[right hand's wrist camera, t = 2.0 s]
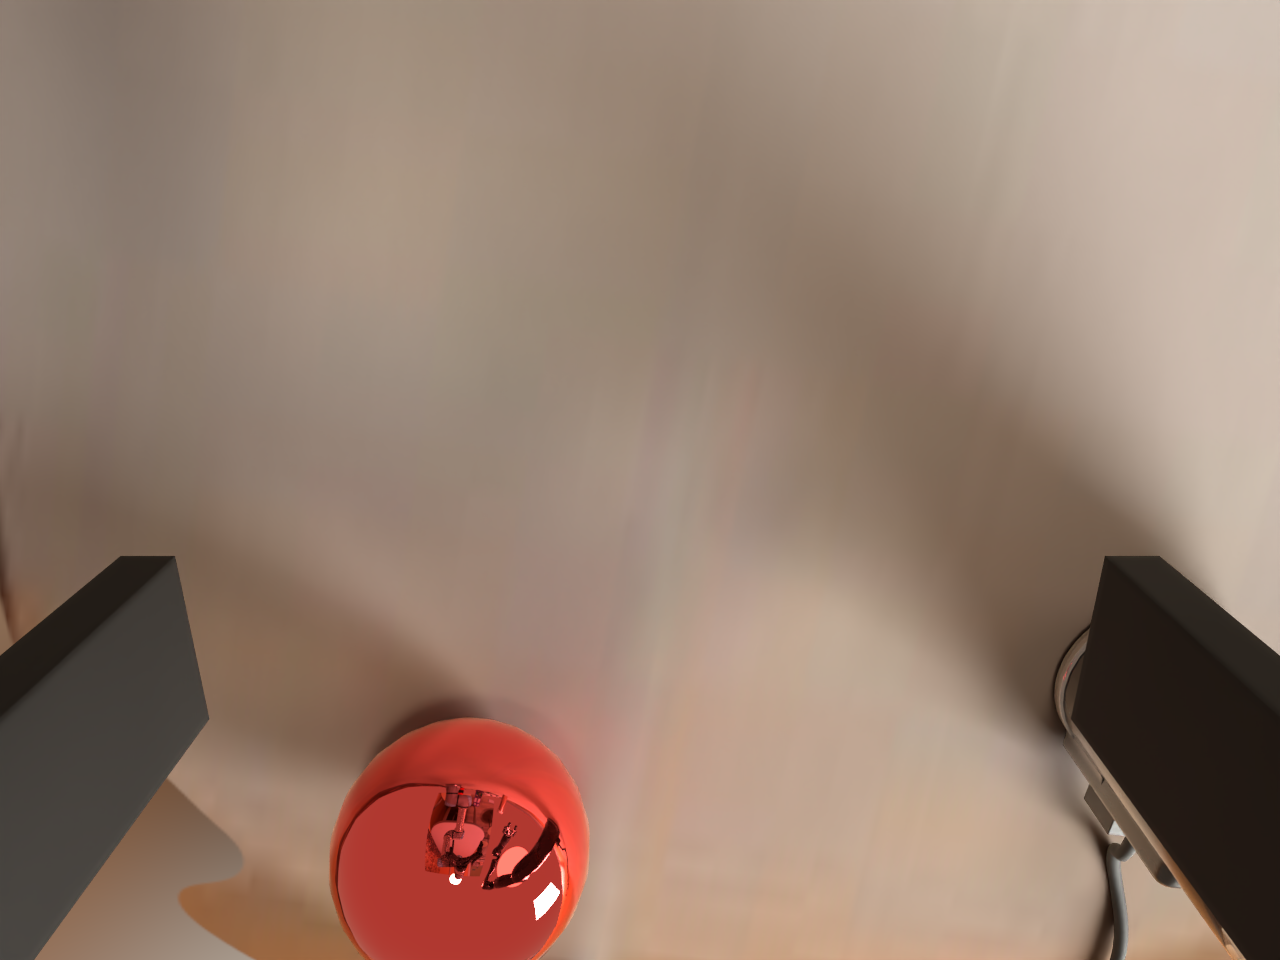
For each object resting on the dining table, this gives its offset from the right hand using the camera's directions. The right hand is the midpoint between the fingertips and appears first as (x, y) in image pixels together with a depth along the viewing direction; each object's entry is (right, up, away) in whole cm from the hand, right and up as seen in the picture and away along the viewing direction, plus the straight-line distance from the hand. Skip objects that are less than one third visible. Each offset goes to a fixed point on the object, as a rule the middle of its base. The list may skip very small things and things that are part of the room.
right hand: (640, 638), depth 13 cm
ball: (-8, -13, +35) cm, 38 cm away
